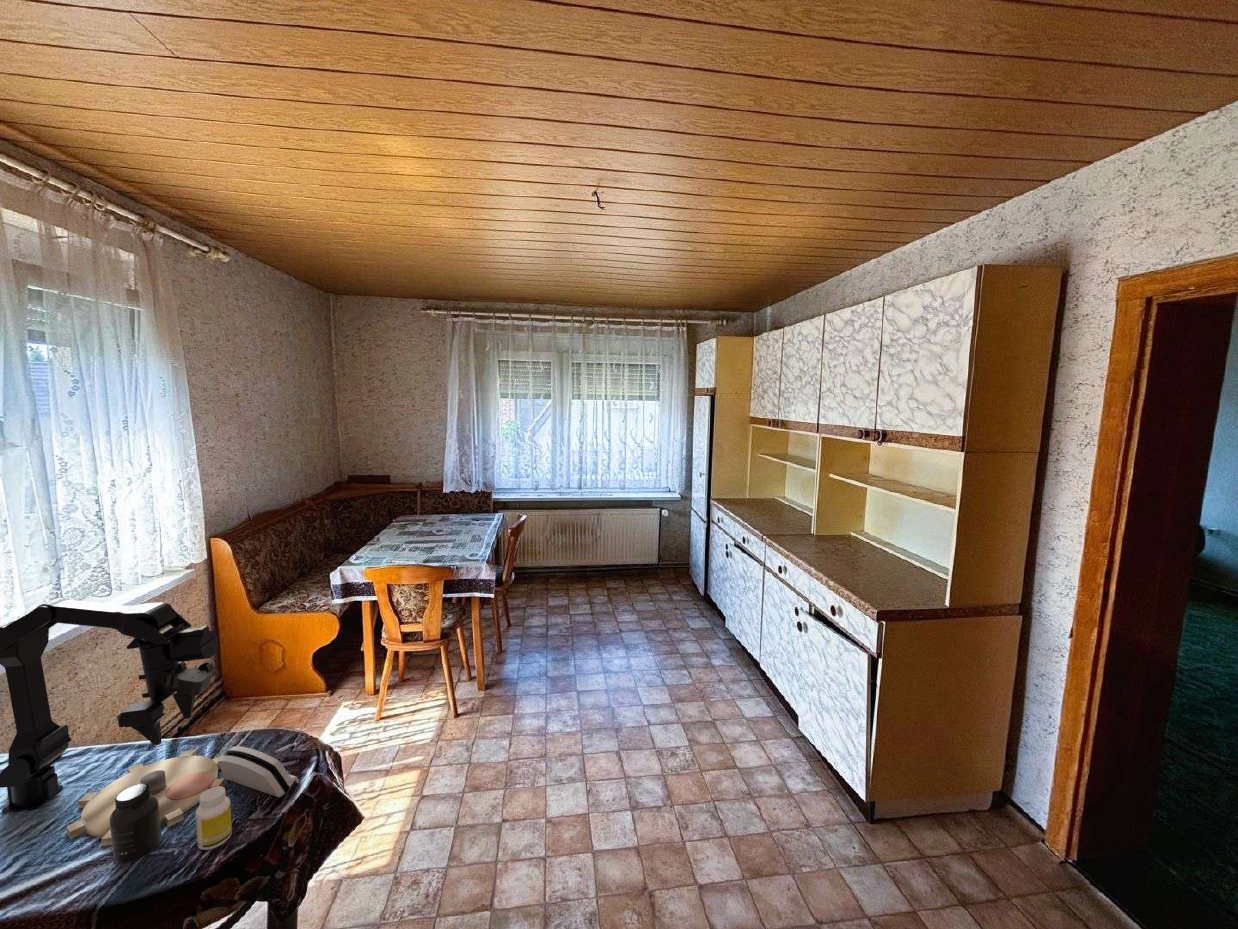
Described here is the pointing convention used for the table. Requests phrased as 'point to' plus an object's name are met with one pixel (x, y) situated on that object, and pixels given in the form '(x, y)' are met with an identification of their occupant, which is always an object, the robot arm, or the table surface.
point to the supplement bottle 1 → (135, 823)
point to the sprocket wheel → (168, 782)
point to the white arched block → (256, 770)
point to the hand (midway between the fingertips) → (173, 731)
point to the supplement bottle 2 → (213, 818)
